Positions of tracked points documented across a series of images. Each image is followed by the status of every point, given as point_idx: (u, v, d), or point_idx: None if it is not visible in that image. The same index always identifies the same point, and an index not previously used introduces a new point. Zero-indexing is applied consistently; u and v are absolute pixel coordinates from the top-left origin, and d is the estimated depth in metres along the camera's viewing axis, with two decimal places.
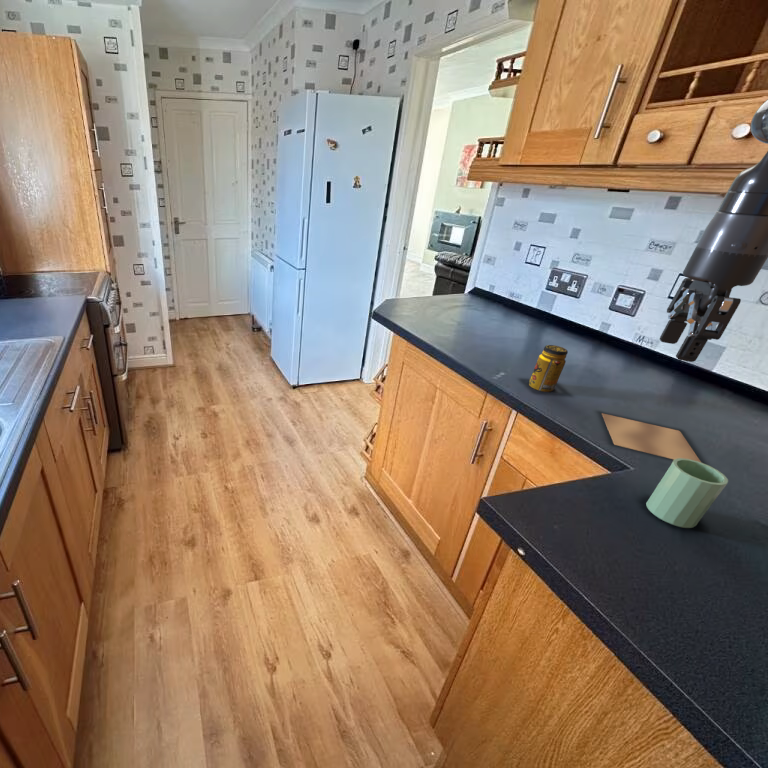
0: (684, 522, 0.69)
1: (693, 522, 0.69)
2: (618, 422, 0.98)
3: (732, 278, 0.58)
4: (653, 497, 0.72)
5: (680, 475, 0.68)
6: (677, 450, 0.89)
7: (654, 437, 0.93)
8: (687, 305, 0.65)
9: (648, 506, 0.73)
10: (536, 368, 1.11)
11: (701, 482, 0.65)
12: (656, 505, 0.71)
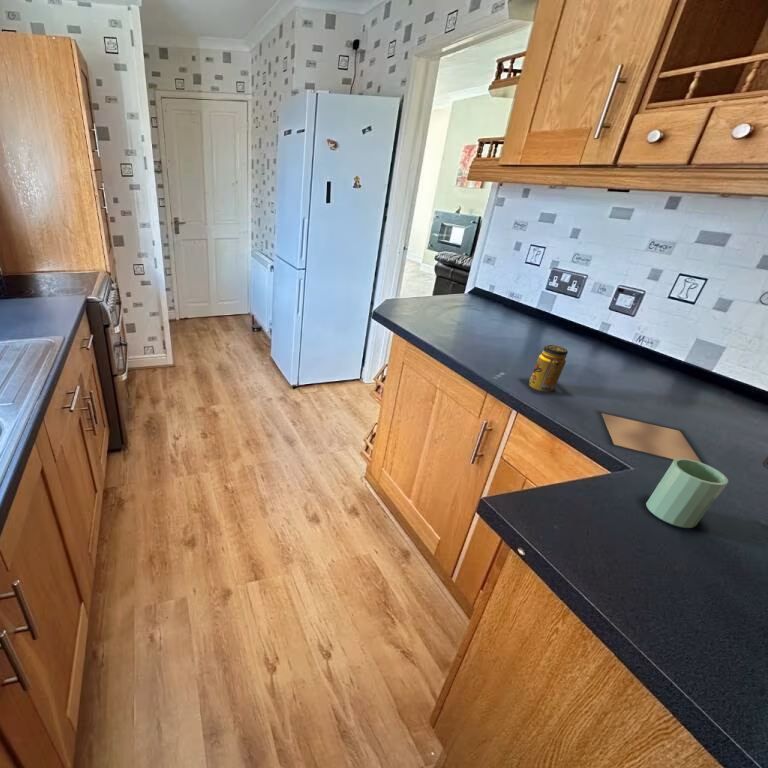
0: (684, 522, 0.69)
1: (693, 522, 0.69)
2: (618, 422, 0.98)
3: None
4: (653, 497, 0.72)
5: (680, 475, 0.68)
6: (677, 450, 0.89)
7: (654, 437, 0.93)
8: None
9: (648, 506, 0.73)
10: (536, 368, 1.11)
11: (701, 482, 0.65)
12: (656, 505, 0.71)
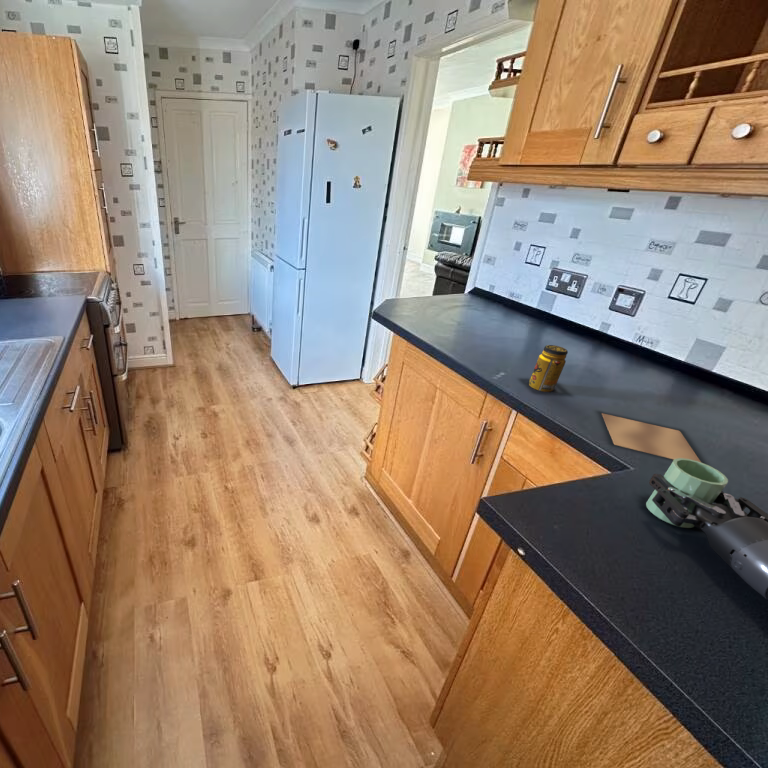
0: None
1: None
2: (618, 422, 0.98)
3: None
4: (653, 497, 0.72)
5: (680, 475, 0.68)
6: (677, 450, 0.89)
7: (654, 437, 0.93)
8: None
9: (648, 506, 0.73)
10: (536, 368, 1.11)
11: (701, 482, 0.66)
12: None
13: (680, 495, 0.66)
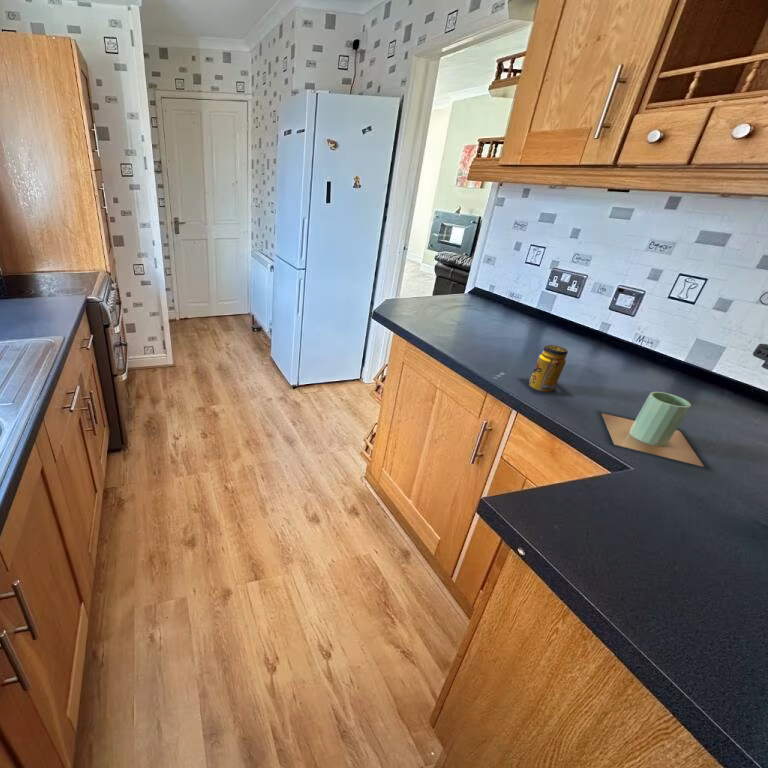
0: (658, 439, 0.89)
1: (665, 440, 0.89)
2: (618, 422, 0.98)
3: None
4: (635, 423, 0.93)
5: (655, 402, 0.88)
6: (677, 450, 0.89)
7: None
8: None
9: (631, 431, 0.94)
10: (536, 368, 1.11)
11: (670, 406, 0.86)
12: (637, 428, 0.92)
13: None
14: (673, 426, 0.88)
